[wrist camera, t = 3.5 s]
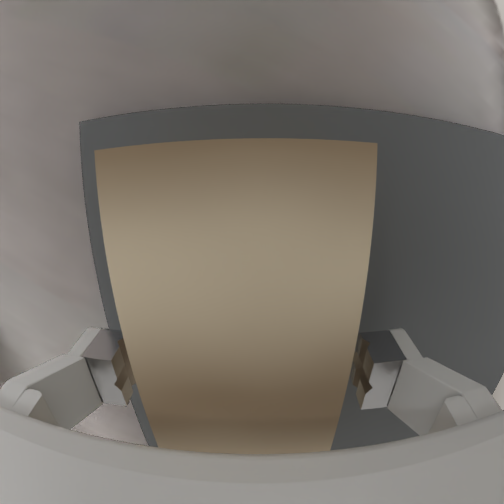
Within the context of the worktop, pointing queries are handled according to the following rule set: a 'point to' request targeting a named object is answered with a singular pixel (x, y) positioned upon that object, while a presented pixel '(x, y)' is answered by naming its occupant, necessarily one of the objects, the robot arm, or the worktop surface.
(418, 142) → the rubber mat
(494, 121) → the worktop surface
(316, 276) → the tan wooden block
